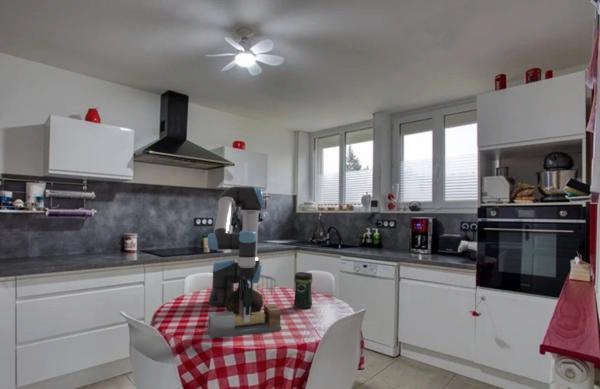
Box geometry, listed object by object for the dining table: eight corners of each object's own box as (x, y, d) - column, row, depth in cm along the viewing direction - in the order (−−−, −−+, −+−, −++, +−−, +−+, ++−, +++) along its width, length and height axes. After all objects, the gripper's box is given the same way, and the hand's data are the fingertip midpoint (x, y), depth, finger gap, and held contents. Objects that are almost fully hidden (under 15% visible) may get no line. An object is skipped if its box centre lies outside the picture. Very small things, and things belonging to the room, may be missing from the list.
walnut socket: (263, 320, 156) (264, 304, 157) (274, 319, 158) (274, 303, 159) (269, 326, 148) (270, 310, 148) (280, 325, 150) (280, 309, 150)
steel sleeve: (208, 327, 145) (209, 312, 146) (231, 324, 149) (232, 310, 149) (210, 332, 140) (210, 317, 140) (234, 329, 144) (235, 315, 144)
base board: (207, 328, 148) (207, 324, 148) (272, 321, 160) (273, 318, 160) (211, 338, 137) (211, 334, 137) (281, 330, 148) (281, 326, 149)
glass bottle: (268, 313, 172) (270, 257, 173) (251, 324, 155) (253, 262, 156) (237, 308, 178) (239, 255, 179) (218, 318, 161) (220, 259, 162)
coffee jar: (313, 305, 187) (314, 272, 188) (308, 309, 180) (309, 274, 180) (297, 303, 190) (298, 270, 191) (291, 307, 183) (292, 272, 184)
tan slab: (214, 323, 146) (215, 300, 147) (261, 319, 154) (262, 297, 155) (216, 328, 141) (217, 304, 141) (265, 323, 149) (266, 300, 149)
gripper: (233, 263, 157) (231, 313, 156) (243, 270, 139) (241, 327, 138) (249, 262, 160) (247, 312, 159) (260, 269, 142) (258, 325, 141)
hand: (244, 319), depth 148 cm, fingers closed on tan slab, 6 cm apart
